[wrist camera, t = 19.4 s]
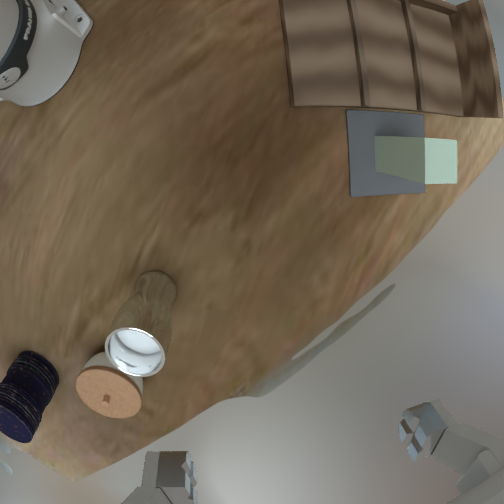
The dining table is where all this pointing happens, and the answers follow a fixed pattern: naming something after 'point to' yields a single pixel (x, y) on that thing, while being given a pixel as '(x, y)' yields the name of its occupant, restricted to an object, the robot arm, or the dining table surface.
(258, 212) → the dining table surface
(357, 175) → the mat
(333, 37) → the lane shelf
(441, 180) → the block
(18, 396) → the storage jar
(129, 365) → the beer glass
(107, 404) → the lidded jar
